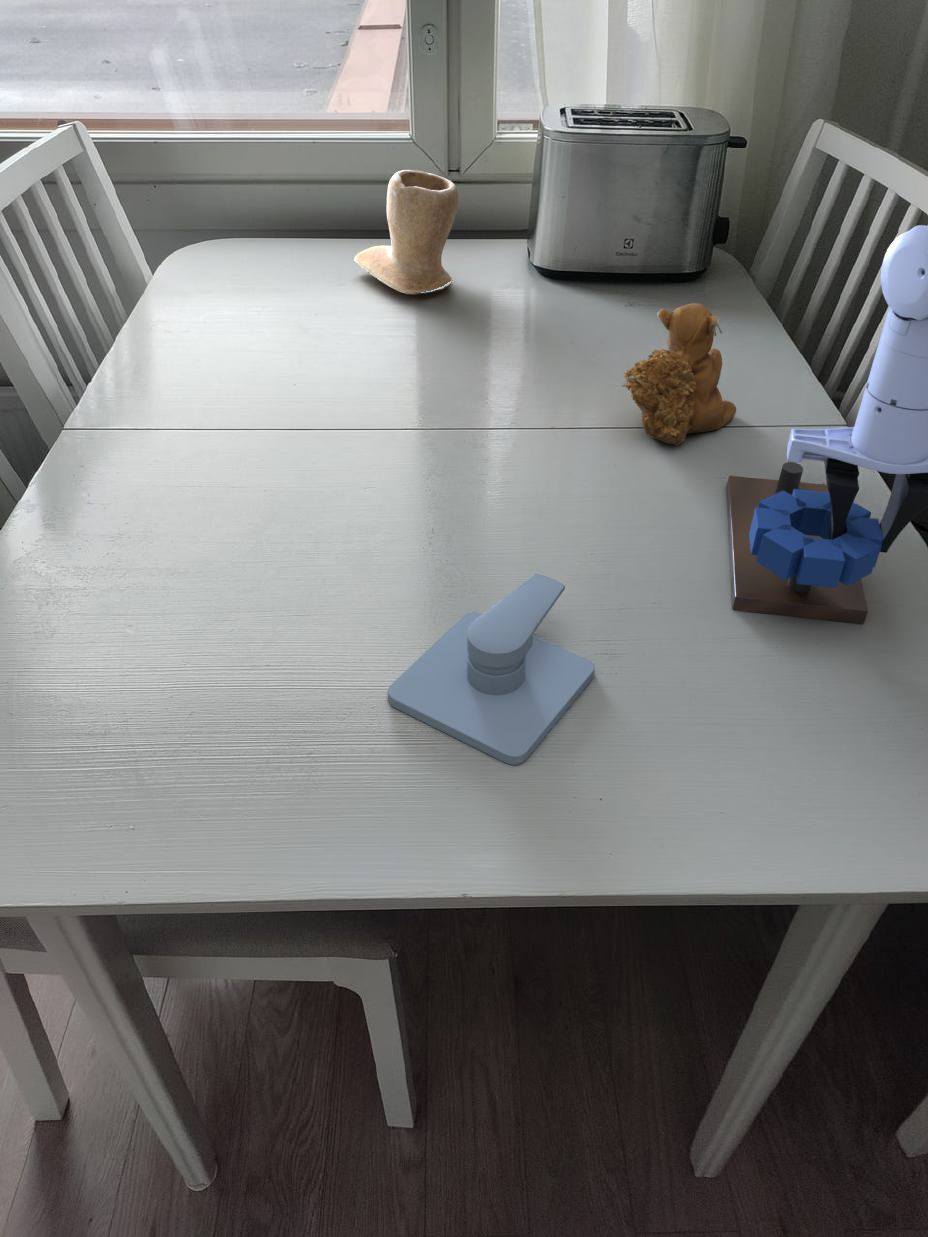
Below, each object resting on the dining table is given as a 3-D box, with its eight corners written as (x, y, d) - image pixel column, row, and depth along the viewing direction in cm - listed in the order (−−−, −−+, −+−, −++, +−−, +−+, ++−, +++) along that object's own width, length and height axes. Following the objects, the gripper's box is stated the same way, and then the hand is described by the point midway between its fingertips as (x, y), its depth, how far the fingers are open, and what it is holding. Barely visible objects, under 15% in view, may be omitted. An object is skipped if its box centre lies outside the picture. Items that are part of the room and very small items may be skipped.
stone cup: (473, 289, 139) (474, 180, 129) (401, 306, 134) (396, 194, 124) (421, 257, 149) (419, 153, 139) (353, 272, 144) (345, 165, 134)
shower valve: (620, 602, 75) (521, 717, 66) (613, 654, 79) (518, 769, 69) (487, 550, 81) (378, 649, 71) (486, 601, 84) (382, 701, 75)
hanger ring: (863, 522, 84) (872, 495, 82) (881, 593, 76) (891, 565, 75) (746, 511, 85) (752, 485, 83) (753, 580, 78) (760, 552, 76)
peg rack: (837, 498, 97) (848, 459, 94) (863, 624, 82) (878, 583, 79) (726, 487, 98) (734, 449, 95) (732, 609, 83) (741, 568, 80)
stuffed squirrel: (739, 413, 110) (762, 301, 102) (688, 466, 101) (708, 348, 93) (660, 390, 115) (675, 281, 106) (604, 439, 106) (616, 325, 97)
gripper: (1002, 378, 72) (943, 527, 81) (803, 359, 75) (767, 505, 84) (1020, 423, 67) (956, 576, 76) (806, 400, 70) (768, 551, 78)
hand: (857, 542), depth 79 cm, fingers closed on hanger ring, 3 cm apart
